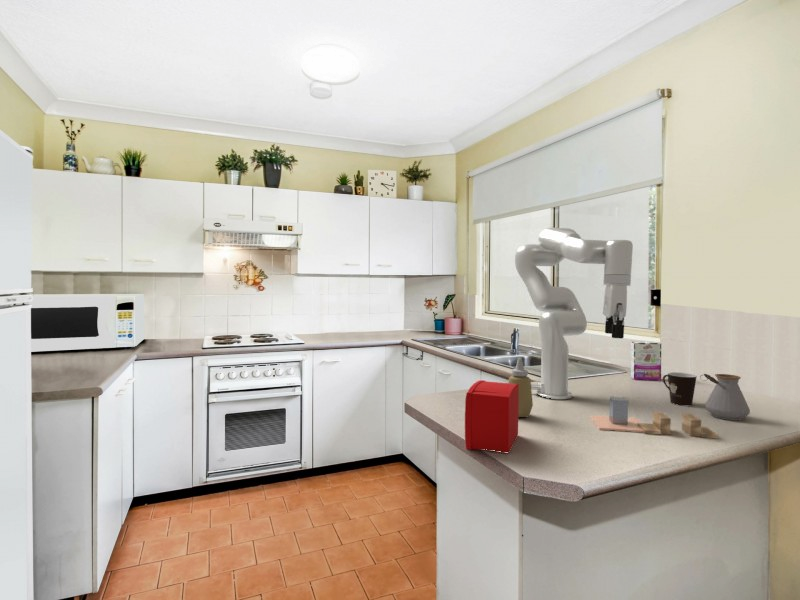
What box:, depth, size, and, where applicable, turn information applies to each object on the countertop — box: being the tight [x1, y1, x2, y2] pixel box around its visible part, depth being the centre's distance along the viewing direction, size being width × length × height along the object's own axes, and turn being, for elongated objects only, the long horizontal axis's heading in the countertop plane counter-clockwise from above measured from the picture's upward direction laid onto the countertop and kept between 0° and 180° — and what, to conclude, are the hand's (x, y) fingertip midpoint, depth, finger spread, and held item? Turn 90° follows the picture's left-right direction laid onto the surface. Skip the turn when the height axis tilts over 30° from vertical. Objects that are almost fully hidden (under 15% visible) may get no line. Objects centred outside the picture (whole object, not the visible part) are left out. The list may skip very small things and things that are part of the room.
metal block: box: [608, 396, 629, 425], centre depth 135 cm, size 4×4×7 cm
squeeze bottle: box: [507, 357, 534, 418], centre depth 143 cm, size 8×8×18 cm
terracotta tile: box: [589, 414, 644, 433], centre depth 135 cm, size 13×13×1 cm
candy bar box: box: [630, 341, 662, 382], centre depth 201 cm, size 11×5×16 cm, turn 81°
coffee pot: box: [699, 373, 751, 421], centre depth 141 cm, size 21×12×15 cm, turn 123°
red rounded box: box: [464, 380, 519, 453], centre depth 119 cm, size 16×11×15 cm
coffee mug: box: [662, 372, 697, 406], centre depth 161 cm, size 12×9×10 cm
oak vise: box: [637, 411, 719, 440], centre depth 128 cm, size 18×7×4 cm, turn 78°
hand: (613, 335), depth 143 cm, fingers open, 9 cm apart
